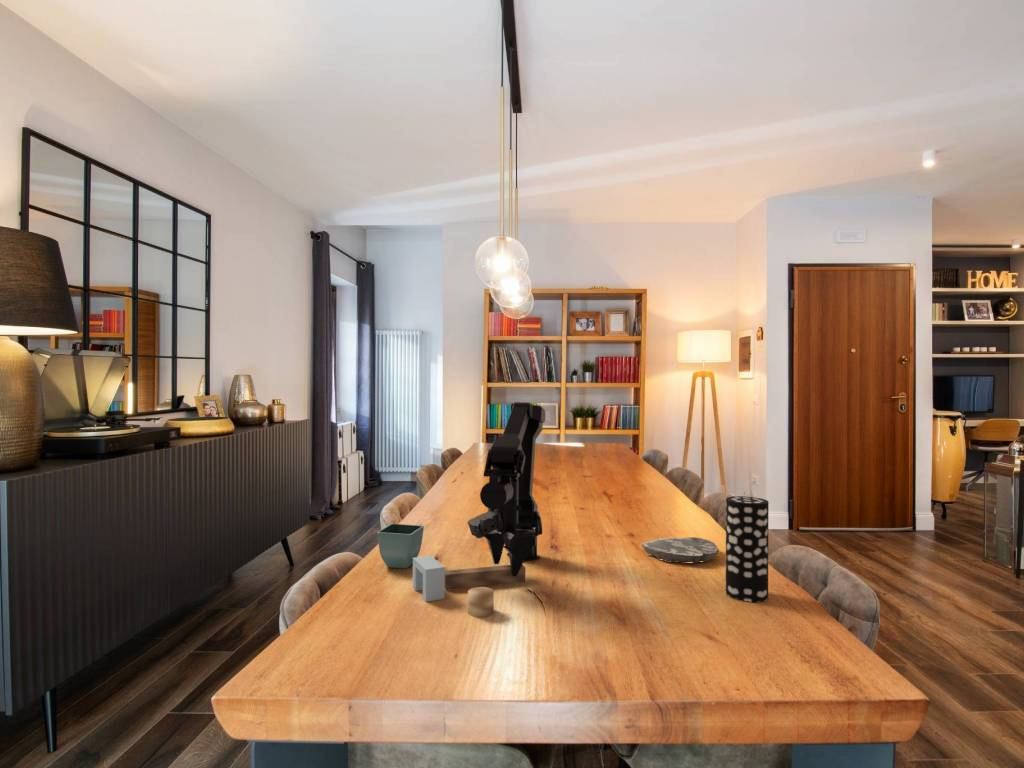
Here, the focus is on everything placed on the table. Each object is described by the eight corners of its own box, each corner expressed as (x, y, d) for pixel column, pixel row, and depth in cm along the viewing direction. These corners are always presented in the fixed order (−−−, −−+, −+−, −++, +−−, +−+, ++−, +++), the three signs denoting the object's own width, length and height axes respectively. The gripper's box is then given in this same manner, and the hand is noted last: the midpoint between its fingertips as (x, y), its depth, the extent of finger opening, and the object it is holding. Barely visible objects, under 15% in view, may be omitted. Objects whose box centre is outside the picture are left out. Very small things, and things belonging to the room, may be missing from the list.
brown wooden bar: (521, 579, 132) (521, 563, 132) (525, 583, 129) (525, 567, 129) (443, 587, 126) (443, 570, 126) (445, 591, 124) (445, 574, 124)
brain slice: (675, 571, 138) (675, 559, 138) (633, 552, 153) (633, 541, 153) (737, 562, 146) (737, 550, 146) (691, 545, 161) (691, 534, 161)
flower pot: (411, 572, 135) (411, 534, 135) (376, 569, 137) (376, 531, 137) (424, 561, 144) (424, 525, 144) (391, 558, 146) (391, 523, 146)
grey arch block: (430, 585, 127) (430, 555, 127) (444, 598, 119) (444, 567, 119) (412, 587, 125) (412, 557, 125) (425, 601, 117) (425, 569, 117)
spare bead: (487, 605, 115) (487, 585, 115) (497, 614, 111) (498, 593, 111) (463, 609, 113) (464, 589, 113) (473, 619, 109) (473, 597, 109)
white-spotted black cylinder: (766, 590, 124) (766, 497, 124) (770, 604, 116) (770, 505, 116) (725, 586, 127) (725, 495, 127) (726, 599, 119) (726, 502, 119)
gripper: (456, 496, 135) (456, 563, 135) (490, 511, 118) (489, 588, 118) (500, 492, 140) (499, 557, 140) (537, 506, 123) (537, 580, 123)
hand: (505, 569), depth 130 cm, fingers open, 9 cm apart
